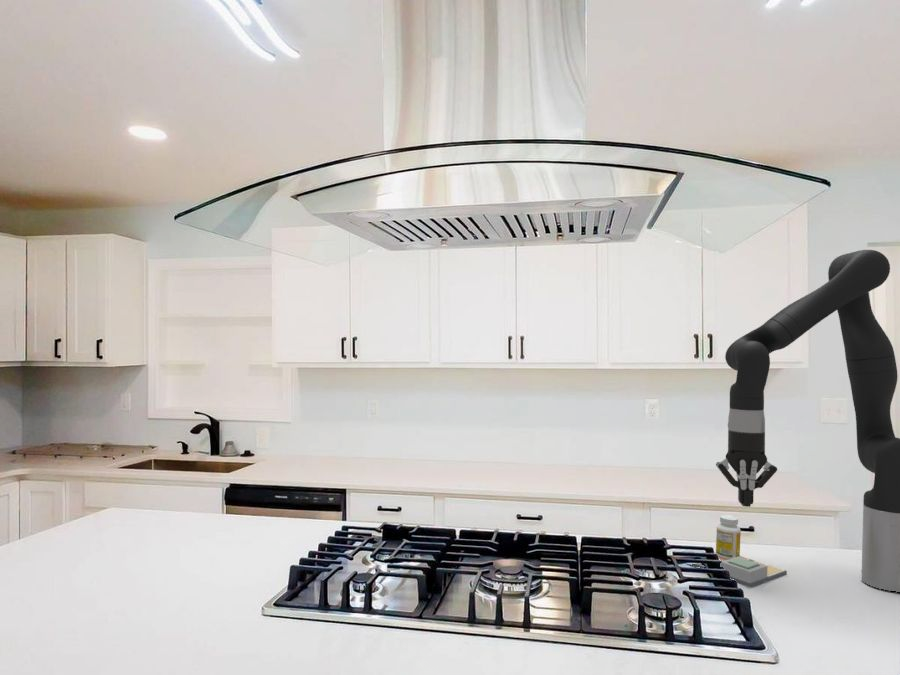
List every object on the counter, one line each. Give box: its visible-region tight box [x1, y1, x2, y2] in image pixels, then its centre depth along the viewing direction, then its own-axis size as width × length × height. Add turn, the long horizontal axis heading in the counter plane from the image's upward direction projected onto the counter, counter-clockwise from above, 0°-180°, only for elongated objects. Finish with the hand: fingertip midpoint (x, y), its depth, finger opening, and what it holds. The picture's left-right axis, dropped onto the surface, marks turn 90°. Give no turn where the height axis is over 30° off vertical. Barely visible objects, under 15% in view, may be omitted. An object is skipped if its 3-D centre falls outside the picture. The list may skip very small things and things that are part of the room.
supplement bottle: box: [715, 514, 742, 560], centre depth 150 cm, size 5×5×10 cm
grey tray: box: [691, 551, 788, 588], centre depth 144 cm, size 16×15×3 cm
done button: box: [729, 558, 759, 570], centre depth 139 cm, size 4×4×2 cm
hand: (745, 505), depth 139 cm, fingers closed
